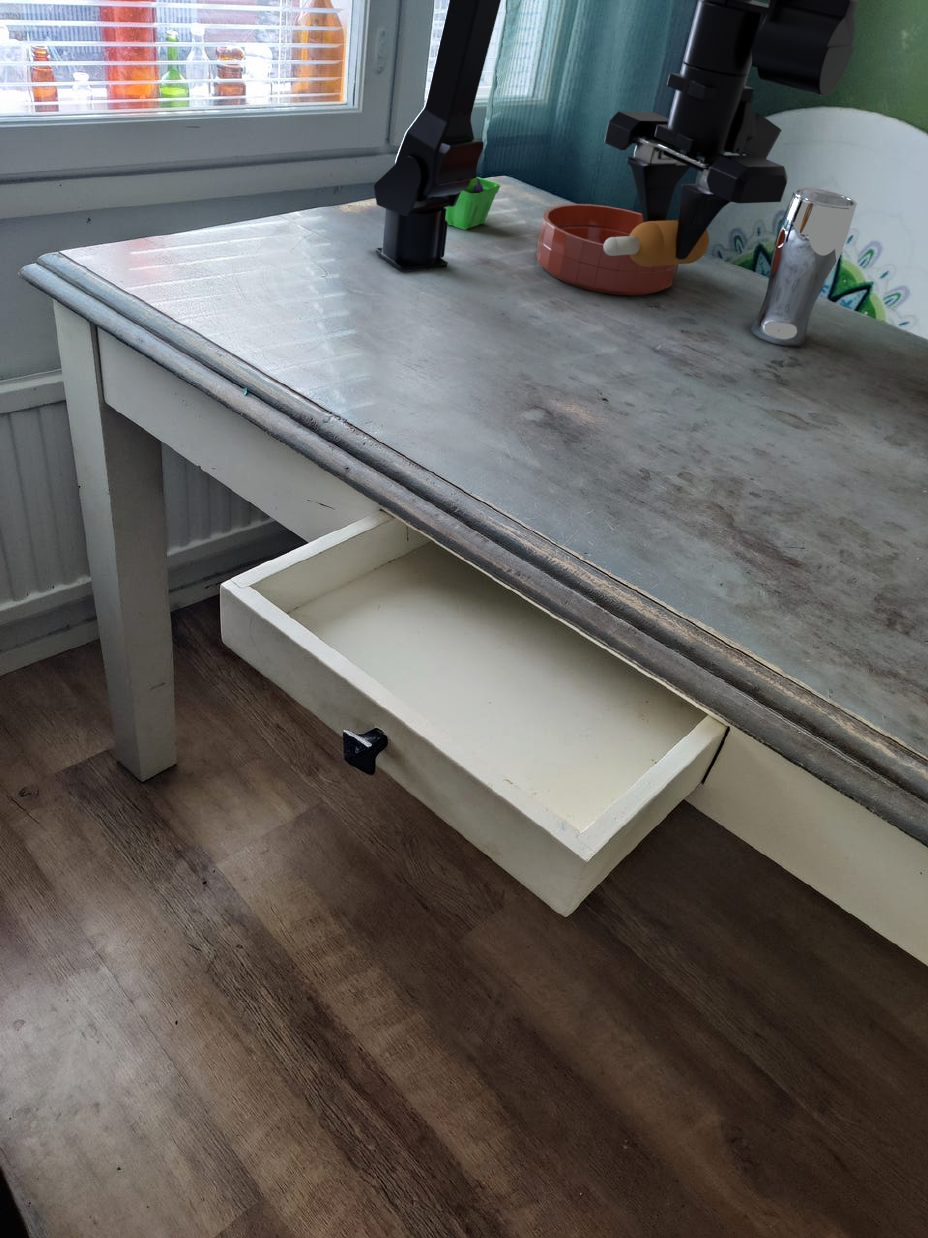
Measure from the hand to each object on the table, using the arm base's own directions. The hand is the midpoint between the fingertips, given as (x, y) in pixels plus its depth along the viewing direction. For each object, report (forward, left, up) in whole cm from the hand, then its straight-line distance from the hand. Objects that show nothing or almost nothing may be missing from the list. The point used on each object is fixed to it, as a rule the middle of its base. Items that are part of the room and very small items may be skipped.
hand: (666, 250), depth 92 cm
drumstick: (-2, 0, -1) cm, 2 cm away
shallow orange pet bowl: (+13, +22, -11) cm, 28 cm away
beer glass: (+21, 0, -11) cm, 23 cm away
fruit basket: (+3, +44, -11) cm, 45 cm away
